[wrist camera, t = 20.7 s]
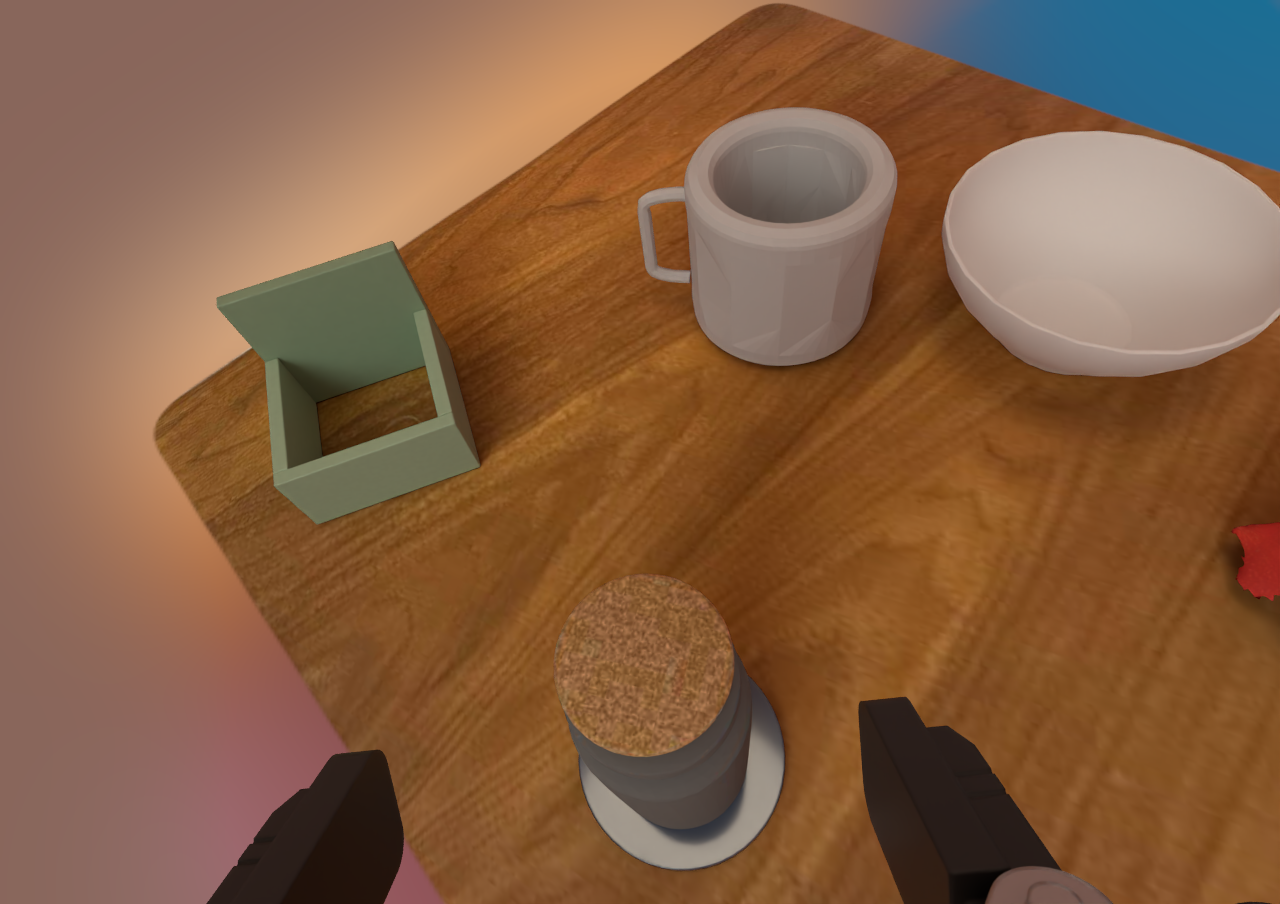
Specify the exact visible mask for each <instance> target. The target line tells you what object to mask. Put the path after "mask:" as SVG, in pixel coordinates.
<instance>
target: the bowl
mask: <svg viewBox="0 0 1280 904" xmlns="http://www.w3.org/2000/svg"><path fill="white" fill-rule="evenodd" d="M942 240H943V246H944V252H945V259H946V265H947V270H948V275H949V277H950V279H951V281H952V282H953V284H954V286H955V288H956V290H957V292H958V294H959V295H960V297H961V299H962V301H963V303H964V304H965V306H966V308H967V310H968V311H969V312H970V313H971V314H972V315H973V316H974V317H975V318H976V319H977V320H978V321H979V322H980V323H981V324H982V325H983V326H984V327H985V328H986V330H987V331H988V332H989V333H990V334H991V335H992V336H993V337H994V338H996V339H997V340H999V342H1000V343H1001V344H1002V345H1003V346H1004V347H1005V348H1006V349H1007V350H1008V351H1009V352H1010V353H1011V354H1013V355H1014V356H1016V357H1017V358H1019V359H1021V360H1022V361H1024V362H1025V363H1027V364H1029V365H1032V366H1034V367H1037V368H1039V369H1042V370H1044V371H1048V372H1053V373H1058V374H1063V375H1089V376H1118V377H1142V376H1147V375H1152V374H1158V373H1163V372H1168V371H1173V370H1179V369H1184V368H1189V367H1194V366H1197V365H1199V364H1202V363H1204V362H1206V361H1208V360H1211V359H1213V358H1215V357H1217V356H1219V355H1221V354H1224V353H1226V352H1228V351H1230V350H1232V349H1234V348H1236V347H1239V346H1241V345H1243V344H1245V343H1247V342H1249V341H1251V340H1252V339H1253V338H1255V337H1256V336H1257V335H1258V334H1259V333H1261V332H1262V331H1263V330H1264V329H1266V328H1267V327H1268V326H1269V325H1270V324H1271V323H1272V322H1273V321H1274V320H1275V319H1276V318H1277V317H1278V316H1279V315H1280V208H1279V207H1278V206H1277V205H1276V204H1275V203H1274V202H1273V201H1272V200H1271V199H1270V198H1269V197H1268V196H1267V195H1266V194H1265V193H1264V192H1263V191H1262V190H1261V189H1260V188H1259V187H1258V186H1257V185H1256V184H1254V183H1253V182H1251V181H1250V180H1248V179H1247V178H1245V177H1244V176H1242V175H1241V174H1239V173H1237V172H1236V171H1234V170H1233V169H1231V168H1230V167H1228V166H1227V165H1225V164H1224V163H1221V162H1219V161H1217V160H1214V159H1212V158H1210V157H1207V156H1205V155H1203V154H1201V153H1198V152H1196V151H1194V150H1191V149H1189V148H1187V147H1184V146H1180V145H1176V144H1172V143H1169V142H1165V141H1161V140H1157V139H1153V138H1150V137H1146V136H1141V135H1132V134H1124V133H1115V132H1107V131H1081V132H1059V133H1054V134H1049V135H1044V136H1038V137H1033V138H1028V139H1023V140H1021V141H1018V142H1016V143H1013V144H1011V145H1008V146H1006V147H1003V148H1001V149H998V150H996V151H993V152H991V153H990V154H989V155H987V156H986V157H984V158H983V159H982V160H980V161H979V162H978V163H976V164H975V165H974V166H972V167H971V168H969V169H968V170H967V171H966V172H965V174H964V175H963V177H962V178H961V179H960V181H959V182H958V183H957V185H956V186H955V188H954V189H953V190H952V192H951V193H950V196H949V200H948V204H947V208H946V212H945V216H944V220H943V227H942Z"/></svg>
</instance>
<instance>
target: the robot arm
mask: <svg viewBox="0 0 1280 904" xmlns="http://www.w3.org/2000/svg"><path fill="white" fill-rule="evenodd" d="M859 728H860V742H861V756H862V771H863V784H864V792H865V798H866V803H867V807H868V811H869V815H870V819H871V822H872V825H873V827H874V830H875V832H876V835H877V837H878V840H879V842H880V845H881V847H882V850H883V852H884V855H885V857H886V860H887V862H888V865H889V867H890V870H891V872H892V875H893V877H894V880H895V882H896V885H897V887H898V890H899V892H900V895H901V897H902V900H903V902H904V904H1113V903H1112V902H1111V901H1110V900H1109V899H1108V897H1106V896H1105V895H1104V894H1103V893H1102V892H1100V891H1099V890H1098V889H1097V888H1095V887H1094V886H1092V885H1091V884H1089V883H1088V882H1086V881H1084V880H1082V879H1080V878H1078V877H1076V876H1074V875H1071V874H1069V873H1067V872H1063V871H1062V870H1061V869H1060V867H1059V866H1058V865H1057V863H1056V862H1055V860H1054V859H1053V857H1052V856H1051V854H1050V853H1049V852H1048V850H1047V849H1046V847H1045V846H1044V844H1043V843H1042V841H1041V840H1040V839H1039V837H1038V836H1037V834H1036V833H1035V831H1034V830H1033V828H1032V827H1031V826H1030V824H1029V823H1028V821H1027V820H1026V818H1025V817H1024V815H1023V814H1022V813H1021V811H1020V810H1019V808H1018V807H1017V805H1016V804H1015V802H1014V801H1013V800H1012V798H1011V797H1010V795H1009V794H1006V791H1005V788H1004V787H1003V785H1002V784H1001V782H1000V781H999V779H998V778H997V777H996V775H995V774H992V771H991V768H990V766H989V765H988V764H987V762H986V761H985V759H984V758H983V756H982V755H981V753H980V752H979V751H978V749H977V748H976V746H975V745H974V744H973V743H971V742H970V741H968V740H967V739H966V738H964V737H963V736H961V735H960V734H958V733H957V732H955V731H954V730H953V729H951V728H950V727H948V726H938V727H928V728H926V727H925V725H924V723H923V722H922V720H921V718H920V717H919V715H918V714H917V712H916V710H915V709H914V707H913V705H912V704H911V702H910V701H909V699H908V698H907V697H898V698H888V699H878V700H869V701H860V703H859ZM403 845H404V833H403V826H402V821H401V817H400V813H399V809H398V805H397V800H396V796H395V792H394V788H393V784H392V779H391V775H390V771H389V767H388V763H387V759H386V757H385V755H384V753H383V752H382V751H381V750H370V751H361V752H351V753H341V754H335V755H333V756H332V757H331V758H330V759H329V760H328V762H327V763H326V764H325V766H324V767H323V769H322V770H321V772H320V773H319V775H318V776H317V777H316V779H315V780H314V782H313V783H312V785H311V786H310V788H308V789H301V790H299V791H298V792H297V793H296V794H295V795H294V796H292V797H291V798H290V799H289V800H287V801H286V802H285V803H284V804H283V805H282V806H280V807H279V808H278V809H277V810H275V811H274V812H273V813H272V814H271V816H270V817H269V819H268V820H267V821H266V823H265V824H264V825H263V827H262V828H261V829H260V831H259V832H258V834H257V835H256V836H255V838H254V843H253V844H250V845H249V846H248V847H247V849H246V850H245V851H244V853H243V854H242V856H241V857H240V858H239V860H238V865H237V866H234V867H233V868H232V870H231V871H230V872H229V874H228V875H227V876H226V878H225V879H224V880H223V882H222V883H221V885H220V886H219V887H218V889H217V890H216V891H215V893H214V894H213V896H212V897H211V898H210V900H209V901H208V902H207V904H384V902H385V899H386V897H387V895H388V892H389V890H390V888H391V885H392V883H393V881H394V879H395V877H396V874H397V872H398V870H399V867H400V864H401V859H402V854H403ZM1237 904H1270V903H1263V902H1244V903H1237Z"/></svg>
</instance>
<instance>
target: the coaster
mask: <svg viewBox="0 0 1280 904" xmlns="http://www.w3.org/2000/svg"><path fill="white" fill-rule="evenodd" d="M747 677H748V680H749V684H750V689H751V698H752V726H751V736H750V746H749V756H748V763H747V770H746V774H745V779H744V781H743V784H742V786H741V789H740V791H739V793H738V795H737V796H736V798H735V800H734V801H733V803H732V804H731V805H730V806H729V807H728V808H727V810H726V811H725V812H724V813H723V814H721V815H720V816H719V817H718V818H716V819H714V820H713V821H711V822H709V823H707V824H705V825H702V826H699V827H695V828H690V829H670V828H666V827H662V826H659V825H656V824H654V823H652V822H651V821H649V820H647V819H645V818H643V817H642V816H640V815H639V814H638V813H637V812H635V811H634V810H633V809H631V808H630V807H629V806H628V805H627V804H625V803H624V802H623V801H622V800H621V799H620V798H618V797H617V796H616V795H615V794H614V793H613V792H611V791H610V790H609V789H608V788H607V787H606V786H605V785H604V784H603V783H602V782H601V781H600V780H599V779H598V778H597V777H596V776H595V775H594V774H593V773H592V772H591V771H590V770H589V768H588V767H587V766H586V764H585V763H584V761H583V760H582V759H581V757H580V755H579V772H580V779H581V784H582V788H583V792H584V795H585V798H586V801H587V803H588V806H589V808H590V810H591V812H592V814H593V816H594V818H595V819H596V821H597V822H598V824H599V825H600V827H601V828H602V830H603V831H604V832H605V833H606V834H607V835H608V836H609V838H610V839H611V840H612V841H613V842H614V843H616V844H617V845H618V846H619V847H620V848H621V849H622V850H624V851H625V852H627V853H628V854H630V855H631V856H633V857H635V858H636V859H638V860H641V861H643V862H645V863H647V864H649V865H653V866H656V867H659V868H663V869H669V870H676V871H693V870H699V869H705V868H709V867H712V866H715V865H718V864H721V863H723V862H725V861H727V860H729V859H731V858H733V857H734V856H736V855H737V854H738V853H740V852H741V851H743V850H744V849H745V848H746V847H748V846H749V845H750V844H751V843H752V842H753V841H754V840H755V839H756V838H757V837H758V835H759V834H760V833H761V831H762V830H763V829H764V828H765V826H766V825H767V823H768V821H769V819H770V818H771V816H772V814H773V812H774V810H775V807H776V805H777V803H778V800H779V797H780V793H781V790H782V786H783V780H784V773H785V750H784V741H783V737H782V732H781V728H780V725H779V722H778V719H777V717H776V714H775V712H774V710H773V708H772V706H771V704H770V702H769V700H768V699H767V697H766V696H765V694H764V693H763V692H762V690H761V689H760V688H759V686H758V685H757V684H756V683H755V682H754V681H753V680H752V679H751V678H750V677H749V676H748V675H747Z"/></svg>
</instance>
